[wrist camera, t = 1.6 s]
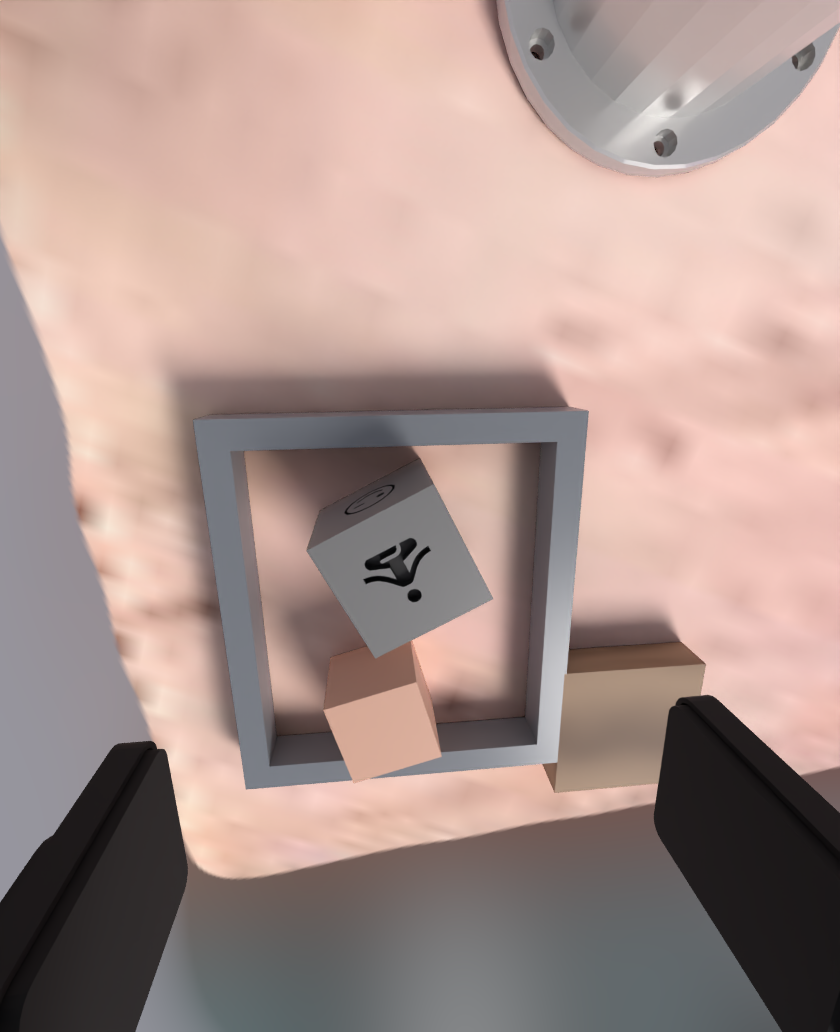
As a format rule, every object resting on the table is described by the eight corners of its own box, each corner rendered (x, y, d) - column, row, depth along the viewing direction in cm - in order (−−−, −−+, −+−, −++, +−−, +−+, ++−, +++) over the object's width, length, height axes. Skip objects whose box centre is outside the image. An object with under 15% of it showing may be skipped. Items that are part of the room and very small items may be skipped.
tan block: (550, 650, 25) (564, 673, 23) (681, 642, 26) (706, 663, 24) (541, 763, 27) (554, 792, 26) (663, 752, 28) (685, 781, 26)
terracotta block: (330, 656, 24) (323, 710, 21) (409, 632, 24) (416, 682, 21) (356, 721, 26) (353, 783, 22) (431, 698, 26) (441, 756, 22)
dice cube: (420, 457, 22) (433, 483, 17) (468, 551, 23) (493, 598, 19) (319, 510, 22) (306, 550, 17) (374, 599, 24) (375, 658, 19)
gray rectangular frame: (209, 414, 21) (193, 419, 19) (569, 406, 22) (588, 410, 20) (255, 757, 26) (245, 789, 24) (545, 733, 27) (559, 762, 25)
